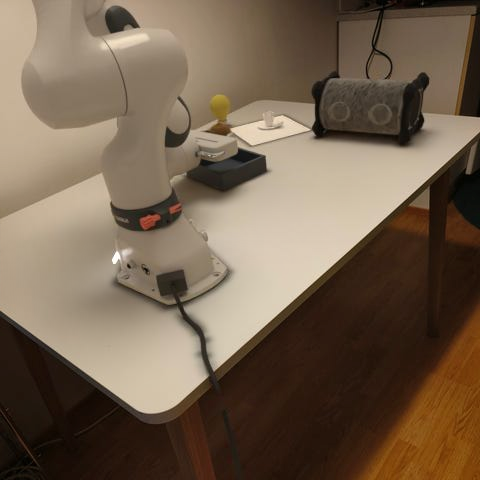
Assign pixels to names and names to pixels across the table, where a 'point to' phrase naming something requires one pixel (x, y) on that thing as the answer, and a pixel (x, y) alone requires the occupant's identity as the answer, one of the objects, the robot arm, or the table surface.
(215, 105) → the light bulb
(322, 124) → the speaker
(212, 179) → the tub
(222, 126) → the fruit
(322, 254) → the table surface
